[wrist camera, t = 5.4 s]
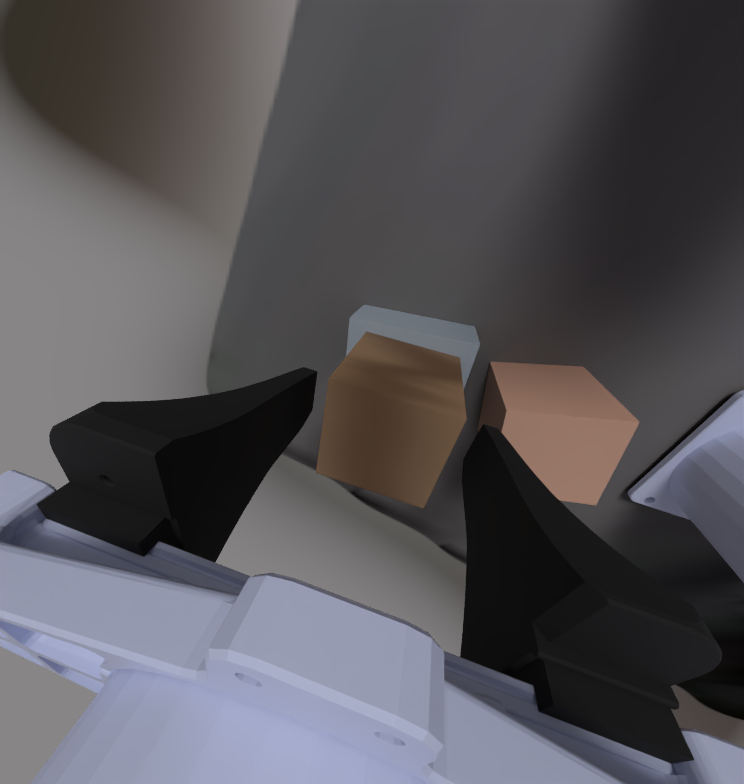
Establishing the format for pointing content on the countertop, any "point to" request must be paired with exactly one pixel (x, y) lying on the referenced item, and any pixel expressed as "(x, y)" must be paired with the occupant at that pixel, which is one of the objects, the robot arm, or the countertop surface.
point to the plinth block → (417, 333)
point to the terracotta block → (559, 425)
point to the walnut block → (392, 418)
